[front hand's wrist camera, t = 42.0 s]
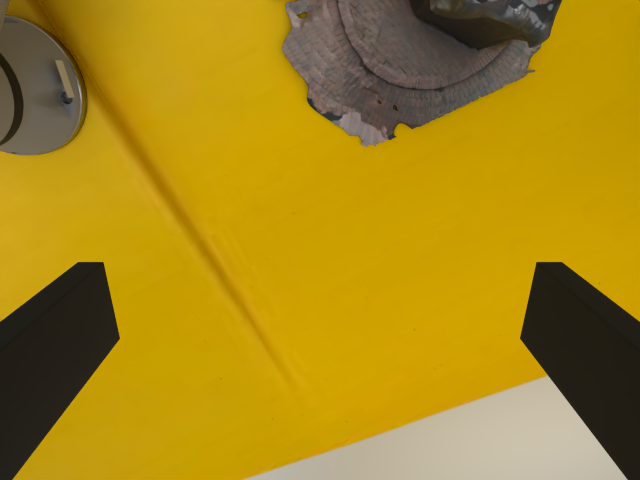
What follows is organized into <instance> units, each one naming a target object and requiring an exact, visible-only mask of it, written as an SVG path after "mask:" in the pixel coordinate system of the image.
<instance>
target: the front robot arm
mask: <svg viewBox="0 0 640 480" xmlns="http://www.w3.org/2000/svg"><path fill="white" fill-rule="evenodd" d="M8 4H9V0H0V151H3V152H6V153H11V154H17V155H39V154H44V153H48V152H52V151H55V150H58V149H60V148H62V147H64V146H65V145H67V144H68V143H69V142H71V141H72V140H73V139H74V138H75V136H76V135H77V134H78V132H79V131H80V129H81V127H82V125H83V122H84V119H85V115H86V109H87V96H86V89H85V84H84V81H83V77H82V75H81V72H80V70H79V68H78V66H77V64H76V62H75V61H74V59H73V57H72V56H71V54H70V53H69V52H68V50H67V49H66V48H65V47H64V45H63V44H62V43H61V42H60V41H59V40H58V39H57V38H55V37H54V36H53V35H52V34H51V33H49V32H48V31H47V30H45V29H44V28H42V27H41V26H39V25H37V24H35V23H33V22H31V21H28V20H26V19H23V18H19V17H15V16H10V15H6V11H7V8H8ZM119 339H120V337H119V332H118V327H117V323H116V318H115V314H114V309H113V304H112V300H111V295H110V291H109V286H108V281H107V277H106V272H105V268H104V263H103V262H78V263H76V264H75V265H74V266H72V267H71V268H70V269H69V270H67V271H66V272H65V273H63V274H62V275H61V276H59V277H58V278H57V279H56V280H54V281H53V282H52V283H50V284H49V285H48V286H46V287H45V288H44V289H43V290H41V291H40V292H39V293H37V294H36V295H35V296H33V297H32V298H31V299H30V300H28V301H27V302H26V303H24V304H23V305H22V306H20V307H19V308H18V309H17V310H15V311H14V312H13V313H11V314H10V315H9V316H7V317H6V318H5V319H4V320H2V321H1V322H0V480H12V479H13V478H14V477H15V475H16V474H17V473H18V471H19V470H20V469H21V468H22V466H23V465H24V464H25V462H26V461H27V460H28V458H29V457H30V456H31V454H32V453H33V452H34V450H35V449H36V448H37V447H38V445H39V444H40V443H41V441H42V440H43V439H44V437H45V436H46V435H47V433H48V432H49V431H50V430H51V428H52V427H53V426H54V424H55V423H56V422H57V420H58V419H59V418H60V416H61V415H62V414H63V412H64V411H65V410H66V409H67V407H68V406H69V405H70V403H71V402H72V401H73V399H74V398H75V397H76V395H77V394H78V393H79V392H80V390H81V389H82V388H83V386H84V385H85V384H86V382H87V381H88V380H89V378H90V377H91V376H92V374H93V373H94V372H95V371H96V369H97V368H98V367H99V365H100V364H101V363H102V361H103V360H104V359H105V357H106V356H107V355H108V353H109V352H110V351H111V350H112V348H113V347H114V346H115V344H116V343H117V342H118V340H119ZM520 339H521V340H522V342H523V343H524V344H525V346H526V347H527V348H528V350H529V351H530V352H531V353H532V355H533V356H534V357H535V359H536V360H537V361H538V363H539V364H540V365H541V367H542V368H543V369H544V371H545V372H546V373H547V374H548V376H549V377H550V378H551V380H552V381H553V382H554V384H555V385H556V386H557V388H558V389H559V390H560V392H561V393H562V394H563V395H564V397H565V398H566V399H567V401H568V402H569V403H570V405H571V406H572V407H573V409H574V410H575V411H576V412H577V414H578V415H579V416H580V418H581V419H582V420H583V422H584V423H585V424H586V426H587V427H588V428H589V430H590V431H591V432H592V433H593V435H594V436H595V437H596V439H597V440H598V441H599V443H600V444H601V445H602V447H603V448H604V449H605V450H606V452H607V453H608V454H609V456H610V457H611V458H612V460H613V461H614V462H615V464H616V465H617V466H618V467H619V469H620V470H621V471H622V473H623V474H624V475H625V477H626V478H627V479H628V480H640V322H639V321H638V320H636V319H635V318H634V317H633V316H631V315H630V314H629V313H627V312H626V311H625V310H623V309H622V308H621V307H620V306H618V305H617V304H616V303H614V302H613V301H612V300H610V299H609V298H608V297H607V296H605V295H604V294H603V293H601V292H600V291H599V290H597V289H596V288H595V287H594V286H592V285H591V284H590V283H588V282H587V281H586V280H584V279H583V278H582V277H581V276H579V275H578V274H577V273H575V272H574V271H573V270H571V269H570V268H569V267H568V266H566V265H565V264H564V263H562V262H537V263H536V268H535V272H534V277H533V281H532V286H531V291H530V295H529V300H528V304H527V309H526V314H525V318H524V323H523V327H522V332H521V337H520Z"/></svg>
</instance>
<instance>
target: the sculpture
mask: <svg viewBox="0 0 640 480" xmlns="http://www.w3.org/2000/svg"><path fill="white" fill-rule="evenodd" d="M561 1H562V0H298V1H296V2H288V3H287V4H286V11H287V13H288V15H289V18H290V20H291V25H292V28H291V31H290V33H289V35H288V36H287V38H286V40H285V42H284V44H283V47H282V50H283V53H284V54H285V56H286V57H287V58H288V60H289V61H290V63H291V64H292V65H293V67H294V68H295V69H296V70H297V71H298V72H299V74H300V75H301V76H302V77H303V79H304V80H305V81H306V83H307V84H308V87H309V91H308V96H307V101H308V103H309V104H310V106H311V107H312V108H313V109H314V110H316V111H317V112H318V113H320V114H321V115H323V116H324V117H326V118H327V119H329V120H330V121H332V122H333V123H335V124H336V125H338V126H340V127H341V128H343V129H344V130H345V131H346V132H347V133H348V134H349V136H359V137H360V138H361V140H362V141H363V142H362V143H361V144H362V145H363V146H368V145H370V144H374V146H376V144H378V142H384V141H386V140H387V139H388V140H391V139H393V138H395V137H396V136H394V129H395V127H396V126H397V125H398V124H399V123H403V124H406V125H407V126H409V127H410V128H411V129H413V128H415V127H418V126H419V127H420V126H422V125H425V124H426V123H429V122H430V121H432V120H434V119H436V118H437V117H438V118H440V117H442V116H443V115H445V114H447V113H450V112H452V111H453V110H456V109H457V108H460V107H462V106H464V105H466V104H469V102H472V101H475V100H477V99H478V98H479V96H480V97H483V96H485V95H488V94H489V93H492V92H494V91H496V90H497V89H500V88H502V87H503V86H505V85H506V84H508V83H512V82H514V81H517V80H519V79H521V78H524V76H526V74H527V73H530V72H533V71H535V70H527V67H528V65H529V62H530V58H531V57H532V55H533V54H535V53H536V52H537V51H538V50H539V49H540V47H541V43H543V42H544V41H545V40H547V39H548V38H549V36H550V33H551V28H552V26H553V22H554V19H555V16H556V13H557V11H558V9H559V6H560V4H561ZM289 7H290V8H289ZM302 12H306V13H307V16H306V17H305V18H299V17H297V15H298V14H301V13H302ZM524 58H525V59H524ZM526 70H527V71H526ZM378 100H379V101H381V104H379V103H378V102H377V101H378ZM394 105H396V107H397V109H398V111H396V110H394V109H393V106H394Z"/></svg>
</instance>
